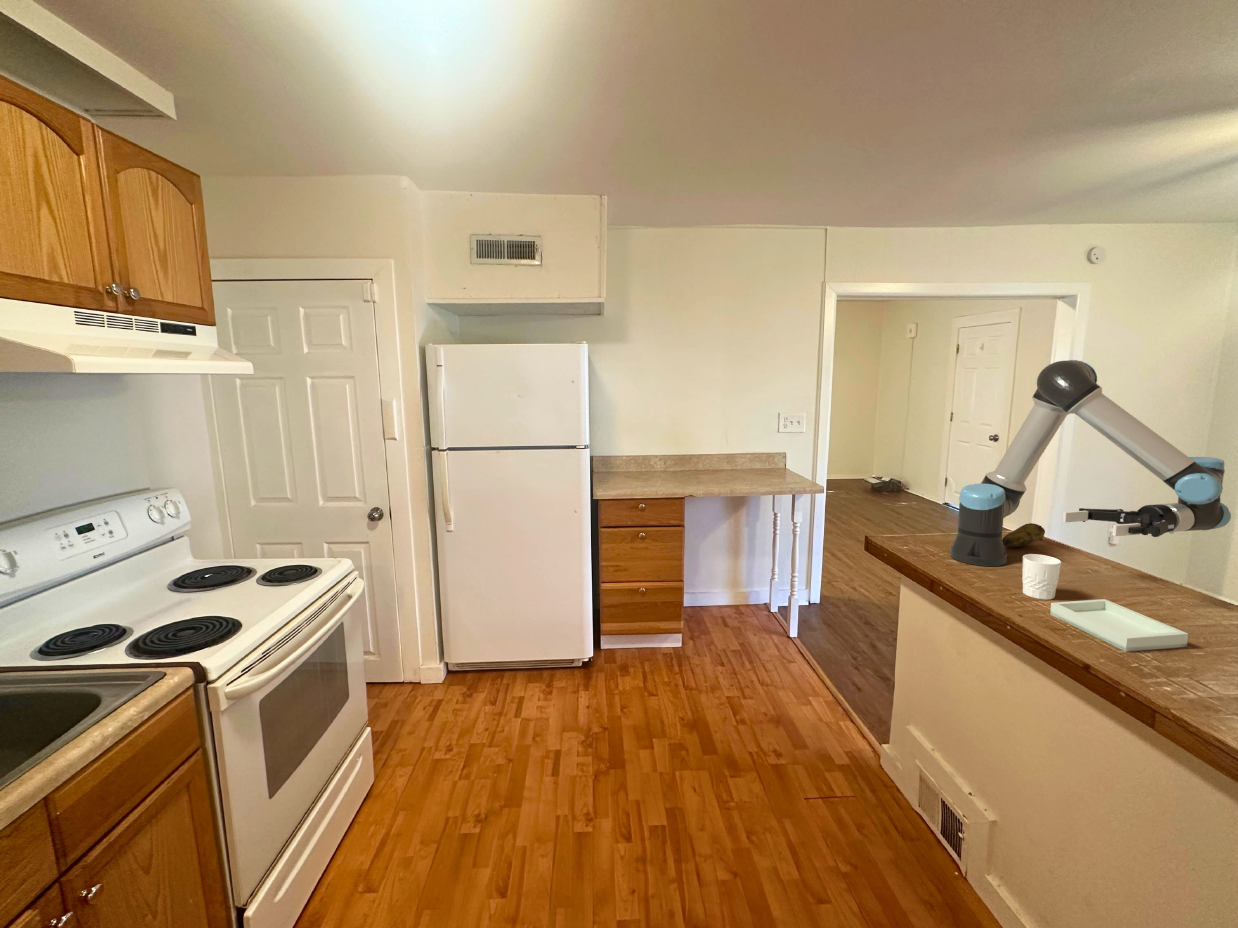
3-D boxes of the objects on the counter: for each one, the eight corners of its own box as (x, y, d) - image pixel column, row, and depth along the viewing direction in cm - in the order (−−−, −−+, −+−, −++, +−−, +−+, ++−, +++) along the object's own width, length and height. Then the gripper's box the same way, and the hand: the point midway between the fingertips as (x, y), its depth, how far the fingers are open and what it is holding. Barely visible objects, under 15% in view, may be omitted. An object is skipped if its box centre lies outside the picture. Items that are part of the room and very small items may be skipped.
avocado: (994, 542, 182) (996, 520, 181) (1036, 543, 179) (1039, 521, 178) (1005, 550, 174) (1007, 526, 173) (1050, 551, 171) (1052, 528, 170)
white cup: (1064, 601, 135) (1068, 564, 133) (1029, 600, 137) (1033, 563, 135) (1046, 589, 143) (1049, 554, 141) (1013, 588, 144) (1016, 553, 143)
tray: (1050, 614, 128) (1051, 602, 128) (1103, 610, 129) (1104, 598, 129) (1125, 651, 111) (1127, 638, 110) (1186, 646, 111) (1188, 633, 111)
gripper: (1218, 546, 127) (1136, 552, 125) (1114, 520, 151) (1045, 525, 150) (1221, 515, 125) (1139, 521, 124) (1116, 494, 150) (1047, 499, 149)
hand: (1088, 523), depth 137 cm, fingers open, 13 cm apart
